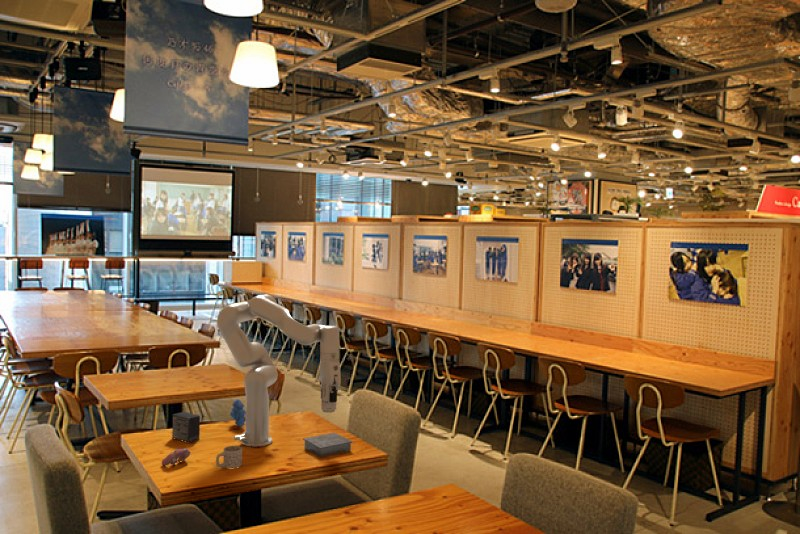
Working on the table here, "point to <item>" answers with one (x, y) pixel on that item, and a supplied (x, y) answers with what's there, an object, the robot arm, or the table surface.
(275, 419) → the table surface
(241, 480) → the table surface
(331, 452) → the stand
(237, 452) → the mug
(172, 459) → the purple oval lump
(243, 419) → the grapes
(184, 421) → the small box
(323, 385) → the energy drink can
